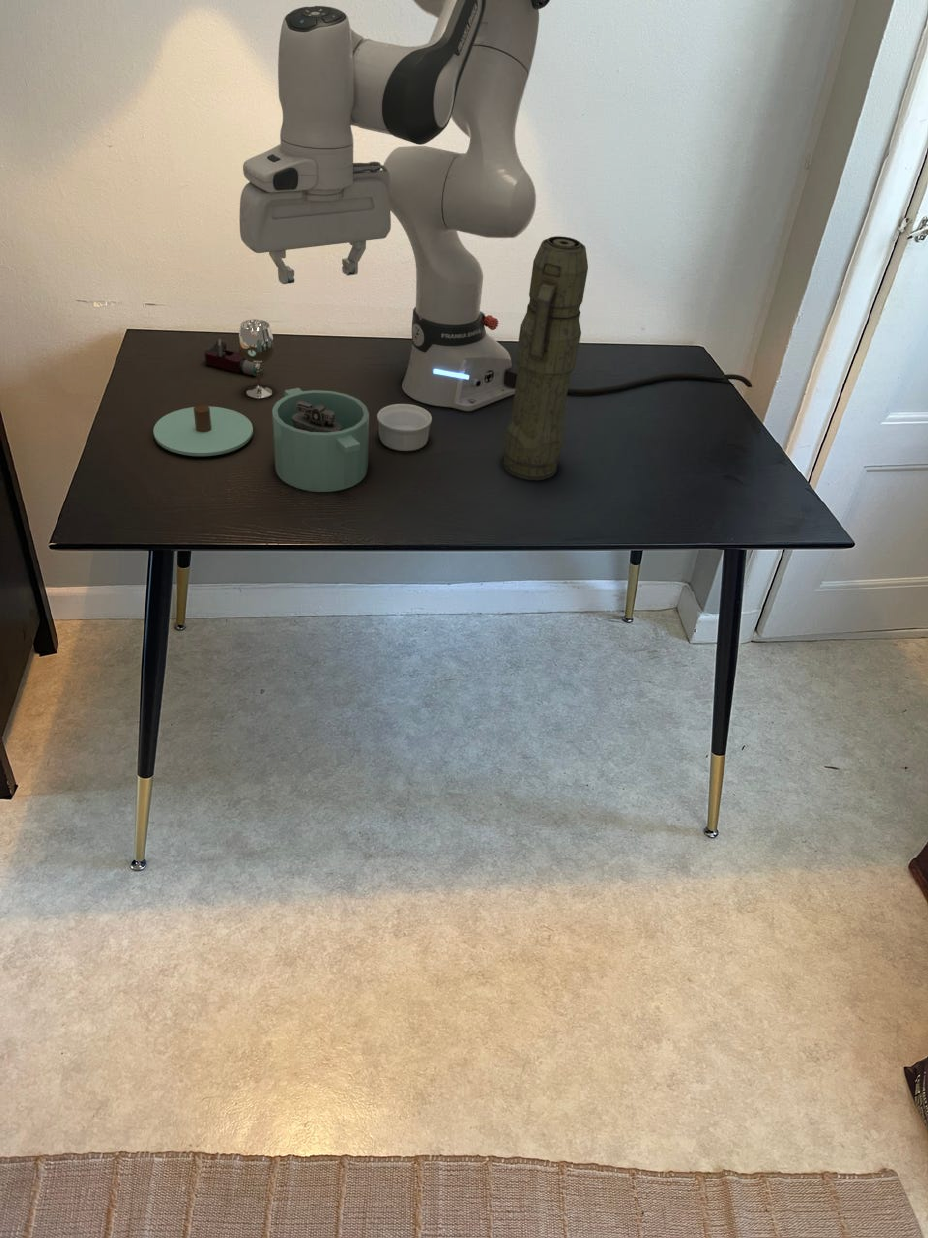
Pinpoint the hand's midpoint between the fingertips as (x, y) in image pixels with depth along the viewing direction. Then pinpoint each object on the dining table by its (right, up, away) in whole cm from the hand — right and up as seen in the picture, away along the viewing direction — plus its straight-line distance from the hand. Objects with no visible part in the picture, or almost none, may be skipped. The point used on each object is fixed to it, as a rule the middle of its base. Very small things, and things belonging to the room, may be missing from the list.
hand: (318, 277), depth 120 cm
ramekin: (+9, -16, +28) cm, 33 cm away
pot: (-3, -22, +19) cm, 29 cm away
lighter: (-3, -22, +18) cm, 29 cm away
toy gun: (-21, +1, +44) cm, 49 cm away
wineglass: (-16, -6, +36) cm, 40 cm away
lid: (-22, -16, +23) cm, 35 cm away
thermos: (+30, -21, +25) cm, 44 cm away
